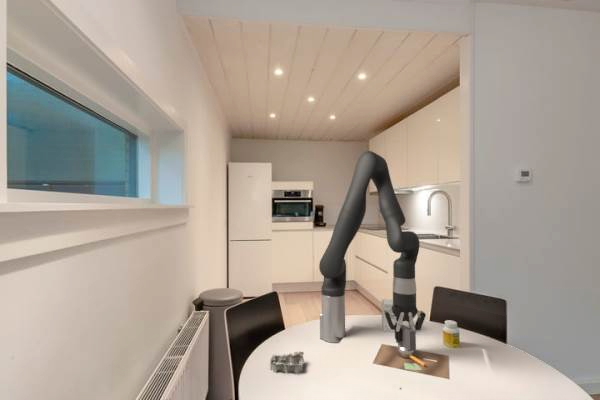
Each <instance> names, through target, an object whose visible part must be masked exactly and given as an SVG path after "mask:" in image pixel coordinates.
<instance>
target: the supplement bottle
mask: <svg viewBox="0 0 600 400" xmlns="http://www.w3.org/2000/svg"><path fill="white" fill-rule="evenodd" d="M442 338H443V342H442V344H443V345H444V346H446V347H448V348H451V349H458V348H460V346H461V345H460V343H461V342H460V341H461V340H460V329H459V328H458V322H456V321H455V320H448V319H446V320H445V321H444V326H443V328H442Z"/></svg>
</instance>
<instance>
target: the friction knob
mask: <svg viewBox="0 0 600 400" xmlns="http://www.w3.org/2000/svg"><path fill="white" fill-rule="evenodd" d="M416 333H417V330H416V331H415V330H413V329H411V328H410V327H409V326H406V325H404V324H403V323H402V324H401V326H400V343H398V342H397V341H396V340H395V343H396V344H397V347H398V355H399V356H400V357H402V358H407V359H410V358H412V359H413V360H415V361H416V362H418V363H420V364H421V365H423V366H426V364H425V363H424V362H422V361H421V360H419V359H417V358H416V357H414V350H417V338H416V337H417V336H416V335H417V334H416Z"/></svg>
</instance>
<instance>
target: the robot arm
mask: <svg viewBox="0 0 600 400" xmlns="http://www.w3.org/2000/svg"><path fill="white" fill-rule="evenodd" d="M371 181H372V183H373V184H374V186H375V188H376V191H377V196H378V207H379V211H380V213H381V216H382V218H383V221H384V223H385V231H386V233H385V234H386V241H387V244H388V246H389V248H390V249H391V250H392V252H395V253H399V254H400V256H399V257H398V258H396V259H395V260H394V261H393V264H392V265H393V266H392V268H393V273H392V274H393V278H392V300H393V306H392V308H391V310H388V311H387V310H385V311H384V314H385V316H386V319H387V322H388V324H389V327H390V328H391V329H392V330H395V332H394V339H395V342H396V341H397V342H398V343H400V326H401V324H403V322H407V323H408V327H409V328H411V329H413V330H415V331H416V332H417V331H421V329H422V326H423V324H424V322H425V319H426V312H424V311H423V310H418V307H417V282H416V263H417V260H418V256H419V252H420V239H419V237H418V235H417V234H416V233H415V232H414V231H410V230H409V231H403V230H402V227H401V226H403V225H404V224H405V223H406V217H405V214H404V212H403V210H402V207H401V204H400V203H399V201H398V199H397V198H398V197H397V195H396V193H395V189H394V187H393V182H392V178H391V176H390V171H389V166H388V162H387V161H386V159H385V158H384V157H383V156H381V155H379V154H377V152H374V151H372V150H371V151H370V150H368V151H364V152H362V154H360V156H359V157H358V159H357V162H356V164H355V168H354V171H353V175H352V179H351V182H350V185H349V188H348V190H347V194H346V195H345V198H344V201H343V204H342V206H341V209H340V211H339V214H338V217H337V220H336V222H335V225H334V228H333V232H332V234H331V238H330V240H329V243H328V245H327V247H326V249H325V251H324V253H323V254H322V257H321V259H320V261H319V266H318V267H319V272H320V274H321V275H322V276H323V282H322V285H321V312H320V314H319V339H320V340H323V341H325V342H328V343H341V342H342V340H343V339H344V338H345V337H346V297H345V296H346V286H347V262H346V259H345V256H346V253H347V250H348V248H349V247H350V245H351V243H352V242H353V240H354V238H355V237H356V234H357V233H358V232H359V229H360V227H361V226H362V222H363V220H364V218H365V215H366V211H367V192H368V191H367V190H368V187H369V184H370V183H371ZM392 313H394V315H395V316H396V319H395V325H393V323H392V320H391V318H390V317H392ZM416 316H417V318H416V322H415V320H414V318H415V317H416ZM398 343H397V344H398Z"/></svg>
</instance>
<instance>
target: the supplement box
mask: <svg viewBox="0 0 600 400" xmlns="http://www.w3.org/2000/svg"><path fill="white" fill-rule="evenodd" d="M392 306H393V299H388V298H387V299H386V298H381V330H382V331H384V332H390V333H395V330H392V329H391V328H390V327H389V324H388V322H387V319H386V316H385V314H384V311H385V310H387V311H388V310H391V308H392ZM390 318H391V320H392V323H393V325H395V319H396V316H395V315H394V313H392V317H390Z"/></svg>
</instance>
